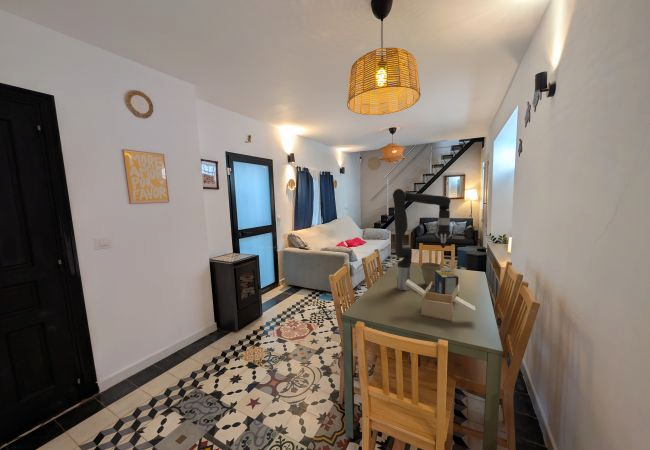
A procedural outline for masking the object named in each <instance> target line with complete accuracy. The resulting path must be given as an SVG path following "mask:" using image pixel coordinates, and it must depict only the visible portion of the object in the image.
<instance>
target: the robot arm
mask: <svg viewBox="0 0 650 450" xmlns="http://www.w3.org/2000/svg"><path fill="white" fill-rule="evenodd" d="M392 198H393V204H394V205H393V206H394V231H395V232H394V233H395V240H394V241H395V246H394V247H395V249H394V251H395V255H396V257H397V258H398V259H401V260H399V261H398V262H397V271H396V273H397V274H396V275H397V276H396V289H397V290H400V291H410V290H411V287H409V286H408V285H406V284H405V283H406V281H407V280H408V279H409V280H410V281H411V264H412V255H413V251H412V250H413V249H412V247H411V246H410V245H409V244H404V245H403V239H404V238H405V237H404V236H405V235H406V233H407V230H408V228H409V227H408V226H409V225H408V224H409V223H408V217H407V216H408V215H407V211H406V205H405V204H406V202H411V203H412V202H413V203H419V204H425V205H435V206H439V207H438V209H439V211H438V219H437V221H438V223H437V233H436V234H434V235H433V236H434V238H435V239H436V240H437V242H439V243H440V247H441V248H442V249H445V248H446V243H449V242H450V241H451V240H452V238H454V235H453V234H451V232H450V227H451V226H450V225H451V222H450V221H451V220H450V217H451V212H450V204H451V198H450V197H449V196H446V195H435V194H428V193H413V192H412V193H411V192H406V191H405V190H404V189H401V188H397V189H395V190H394V191H393V193H392Z"/></svg>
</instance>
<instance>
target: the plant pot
mask: <svg viewBox="0 0 650 450" xmlns="http://www.w3.org/2000/svg"><path fill="white" fill-rule="evenodd" d="M441 268H442V265H441V264H440V263H437V262H421V263H420V270H421V275H422V277H423V278H422V279H423V281H424V285H426V286H428V285H429V284H430V283H431V281H432V285H431V287H435V270H436V271H441V270H442V269H441Z"/></svg>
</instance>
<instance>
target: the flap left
mask: <svg viewBox="0 0 650 450" xmlns="http://www.w3.org/2000/svg"><path fill="white" fill-rule="evenodd" d="M405 284H406V285H408V286H409V287H410V289H413V290H414V291H415V292H417V293H418V294H420V295H421V296H422V298H424V296H425V295H426V294H427V292H430V290H431V288H432V286H431V285H432V281H431V283H430V284H429V285H427V287H426V288H425V289H423V288H422V287H421V286H419V285H417V284H416V283H415V282H413V281H412V280H411V279H410V280H409V279H408V280H407V281H406V283H405Z"/></svg>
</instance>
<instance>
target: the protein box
mask: <svg viewBox="0 0 650 450" xmlns="http://www.w3.org/2000/svg"><path fill="white" fill-rule="evenodd" d="M459 279H460V277H459V276H458V275H457V274H455V273H454V272H452V271H451V270H440V271H436V270H435V286H434V292H435V293H439V294H445V295H452V293H453V291H454V290H455V288H456V287H457V285H458V284H459ZM457 297H459V294H458V295H457Z"/></svg>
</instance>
